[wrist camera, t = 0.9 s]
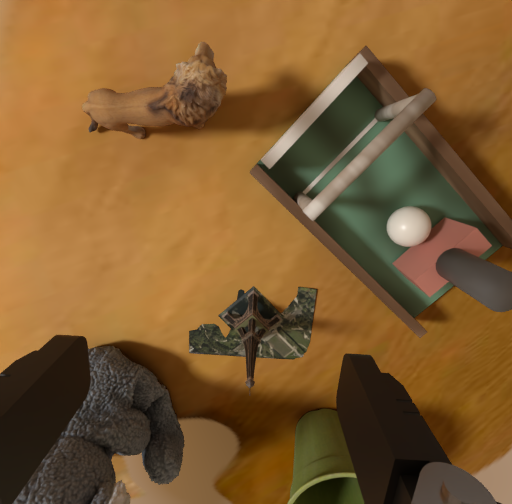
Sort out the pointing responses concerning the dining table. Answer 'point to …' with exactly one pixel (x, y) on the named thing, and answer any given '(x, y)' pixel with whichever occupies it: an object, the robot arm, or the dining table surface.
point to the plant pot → (323, 462)
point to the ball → (409, 226)
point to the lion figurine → (163, 99)
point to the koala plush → (110, 436)
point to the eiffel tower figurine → (259, 329)
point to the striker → (457, 265)
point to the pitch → (375, 179)
